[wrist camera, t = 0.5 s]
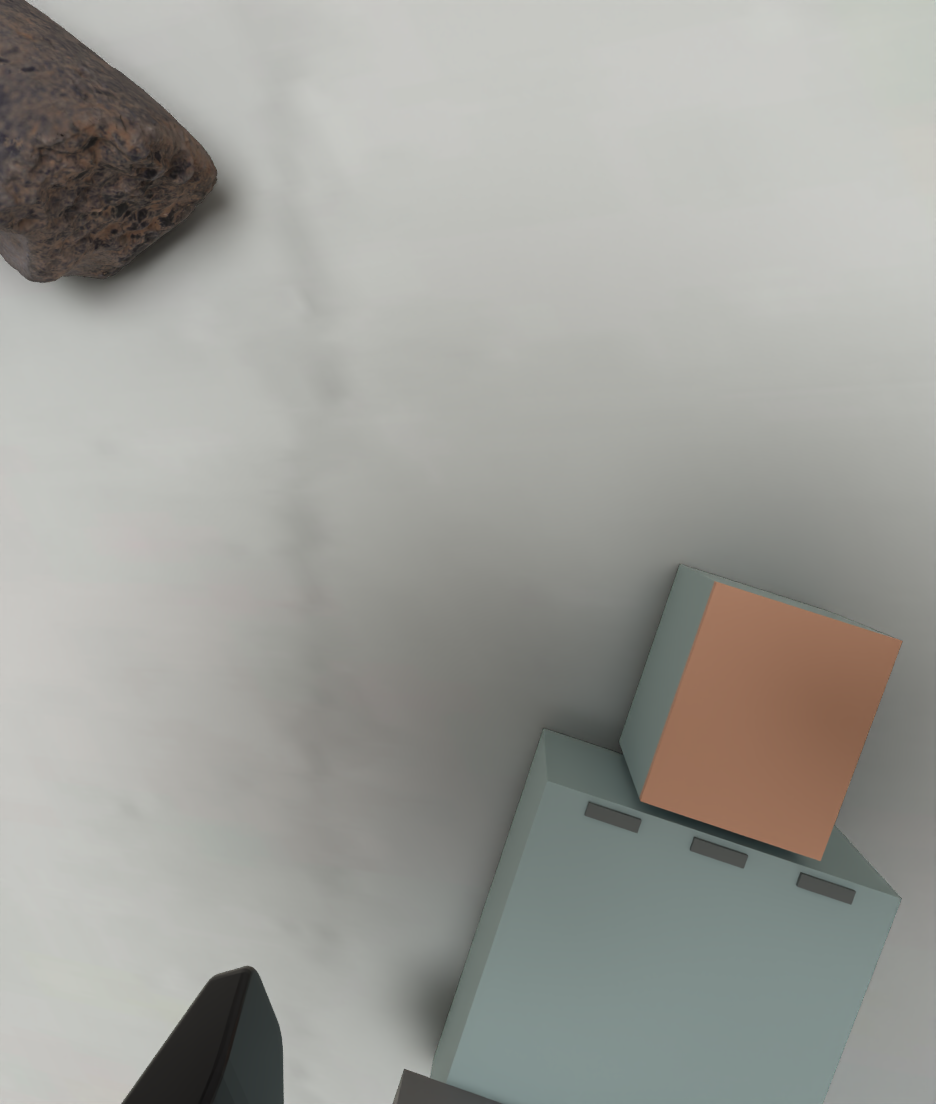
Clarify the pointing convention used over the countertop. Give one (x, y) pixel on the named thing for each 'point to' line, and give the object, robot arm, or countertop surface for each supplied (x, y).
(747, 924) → the teal block with bar
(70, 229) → the perforated stone tool
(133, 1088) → the robot arm
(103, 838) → the countertop surface
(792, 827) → the teal and orange block
